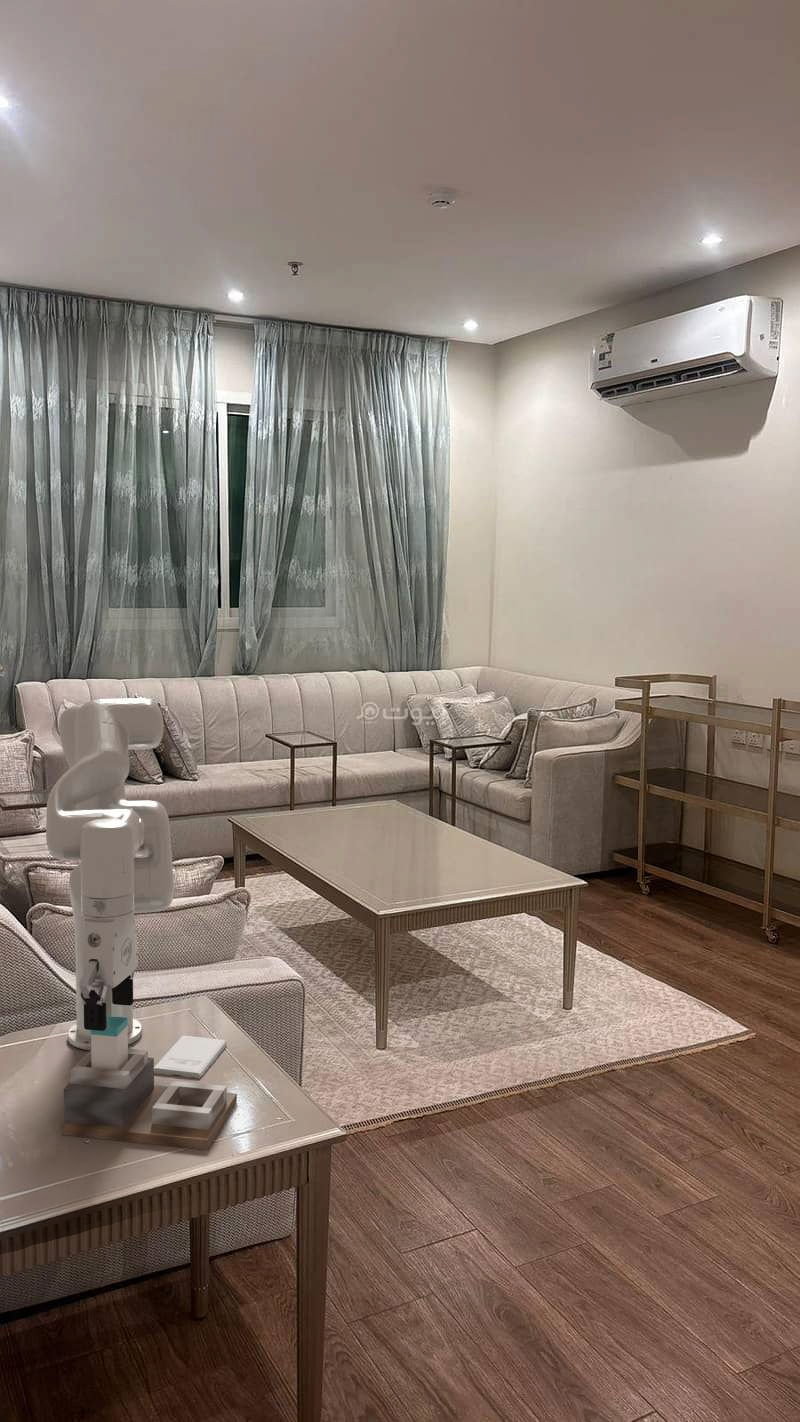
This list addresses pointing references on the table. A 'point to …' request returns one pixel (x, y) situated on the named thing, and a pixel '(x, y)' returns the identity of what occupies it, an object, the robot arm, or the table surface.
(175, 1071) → the external hard drive
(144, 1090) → the socket console
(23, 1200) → the table surface
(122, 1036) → the plug block
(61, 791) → the robot arm
